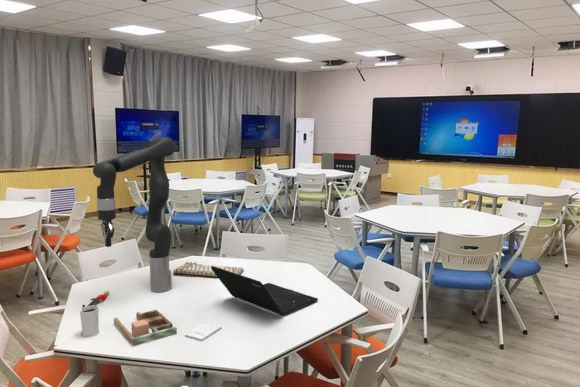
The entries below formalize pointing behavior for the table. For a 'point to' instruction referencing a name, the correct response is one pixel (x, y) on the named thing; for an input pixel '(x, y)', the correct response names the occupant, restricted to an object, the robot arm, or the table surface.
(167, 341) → the table surface
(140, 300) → the table surface
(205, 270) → the mechanical keyboard
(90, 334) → the drinking glass
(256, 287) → the laptop
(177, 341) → the table surface
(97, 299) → the person figure
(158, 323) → the brown frame
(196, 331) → the external hard drive
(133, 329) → the clay block
